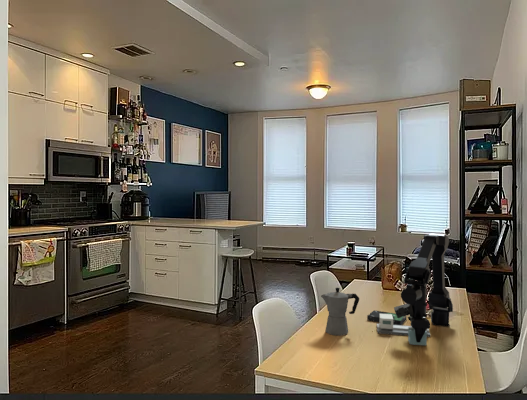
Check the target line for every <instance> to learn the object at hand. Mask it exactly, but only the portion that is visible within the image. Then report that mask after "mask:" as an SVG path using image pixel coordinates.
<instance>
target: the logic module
mask: <svg viewBox="0 0 527 400" xmlns="http://www.w3.org/2000/svg"><path fill="white" fill-rule="evenodd" d="M427 339H428V337H427V331H425V333H424V335H423V337H422V339H421V341H420V342H417V341H416V336H415V329H414V328H413V327H408V336H407V340H408V343H409V345H415V346H427V342H428V340H427Z"/></svg>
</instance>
